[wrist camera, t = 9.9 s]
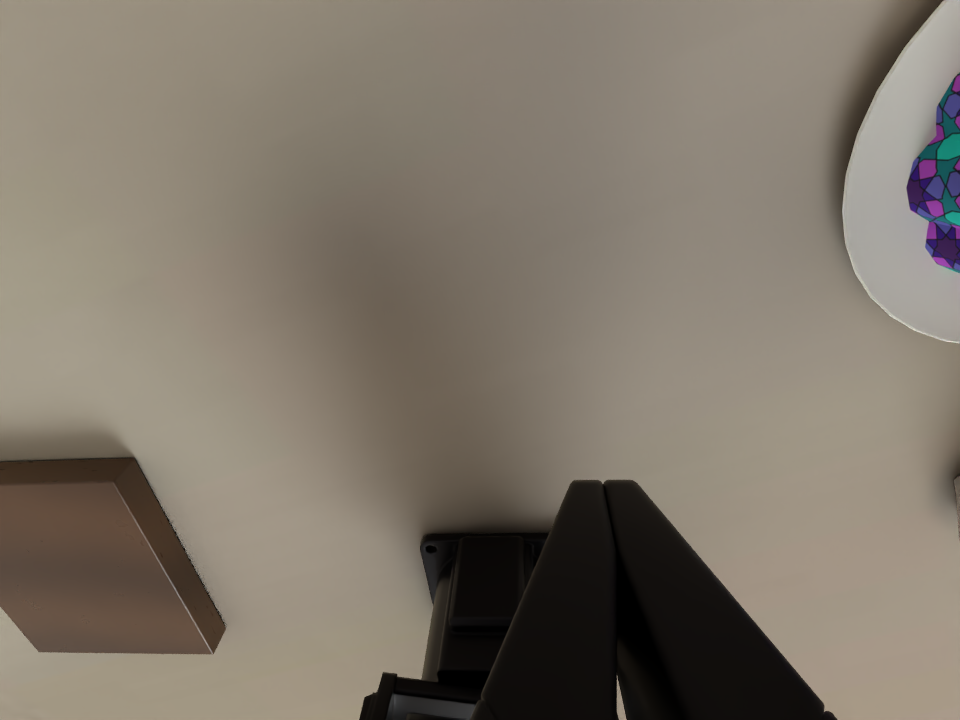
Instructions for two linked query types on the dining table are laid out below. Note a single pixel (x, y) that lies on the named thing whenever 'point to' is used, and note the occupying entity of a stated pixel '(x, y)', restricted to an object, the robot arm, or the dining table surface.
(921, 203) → the pudding
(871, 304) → the dining table surface
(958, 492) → the salt shaker
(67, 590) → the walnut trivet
